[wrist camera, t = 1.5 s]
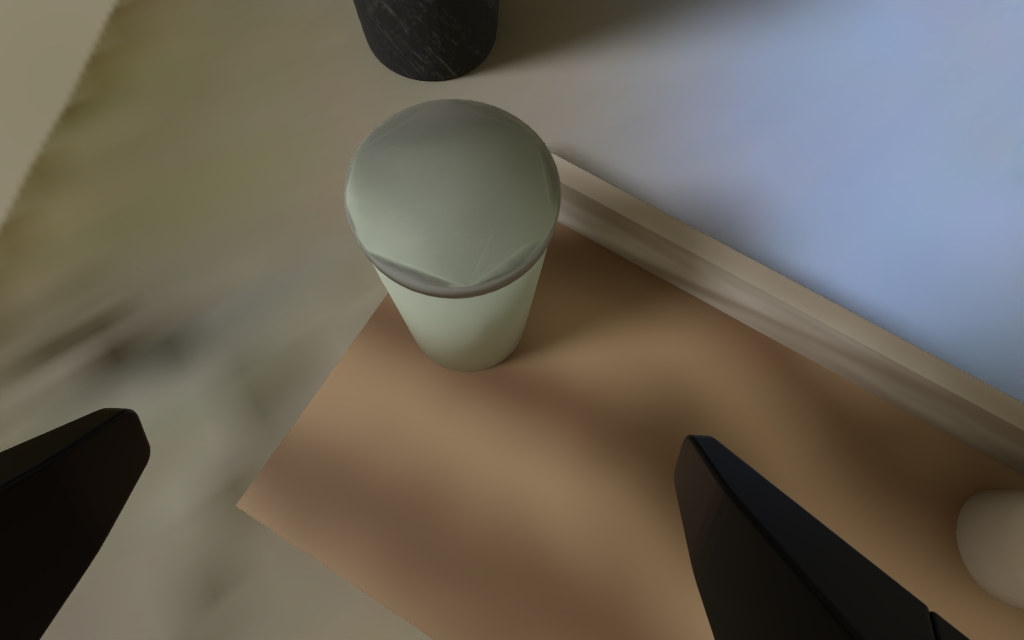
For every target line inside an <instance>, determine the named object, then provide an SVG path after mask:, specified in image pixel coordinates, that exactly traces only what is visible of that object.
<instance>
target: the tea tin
mask: <svg viewBox="0 0 1024 640" xmlns="http://www.w3.org/2000/svg"><path fill="white" fill-rule="evenodd" d="M344 204H345V211H346V215H347V218H348V222H349V225H350V227H351V229H352V231H353V233H354V236H355V238H356V239H357V241H358V243H359V245H360V246H361V248H362V250H363V251H364V253H365V254H366V256H367V257H368V259H369V260H370V261H371V262H372V264H373V265H374V267H375V269H376V271H377V273H378V274H379V276H380V278H381V280H382V282H383V283H384V285H385V287H386V289H387V291H388V292H389V294H390V296H391V298H392V300H393V301H394V303H395V305H396V307H397V309H398V310H399V312H400V314H401V316H402V318H403V319H404V321H405V323H406V325H407V327H408V328H409V330H410V332H411V334H412V336H413V337H414V339H415V341H416V343H417V344H418V346H419V347H420V349H421V350H422V351H423V353H424V354H425V355H426V356H427V357H428V358H430V359H431V360H432V361H434V362H435V363H437V364H438V365H440V366H442V367H444V368H447V369H450V370H454V371H459V372H476V371H481V370H485V369H488V368H491V367H493V366H495V365H497V364H499V363H500V362H502V361H503V360H505V359H506V358H507V357H508V356H509V355H510V354H511V353H512V352H513V351H514V350H515V348H516V347H517V345H518V344H519V342H520V340H521V338H522V335H523V332H524V329H525V326H526V322H527V319H528V315H529V311H530V308H531V304H532V301H533V297H534V294H535V290H536V286H537V283H538V279H539V276H540V272H541V269H542V265H543V262H544V258H545V254H546V251H547V247H548V244H549V242H550V240H551V238H552V236H553V233H554V229H555V226H556V223H557V219H558V216H559V212H560V205H561V183H560V176H559V173H558V169H557V166H556V163H555V161H554V159H553V157H552V154H551V153H550V151H549V149H548V148H547V146H546V145H545V143H544V142H543V141H542V139H541V138H540V137H539V136H538V135H537V133H536V132H534V131H533V130H532V129H531V128H530V127H529V126H528V125H527V124H525V123H524V122H523V121H521V120H520V119H519V118H517V117H516V116H514V115H512V114H510V113H508V112H507V111H505V110H502V109H500V108H497V107H495V106H492V105H489V104H485V103H482V102H477V101H471V100H462V99H442V100H435V101H428V102H424V103H421V104H417V105H414V106H411V107H409V108H406V109H403V110H401V111H399V112H398V113H396V114H394V115H392V116H390V117H389V118H387V119H386V120H384V121H383V122H381V123H380V124H379V125H378V126H377V127H376V128H374V129H373V130H372V131H371V132H370V133H369V134H368V135H367V137H366V138H365V139H364V140H363V141H362V143H361V144H360V146H359V147H358V149H357V150H356V152H355V154H354V156H353V158H352V160H351V162H350V164H349V168H348V171H347V174H346V179H345V185H344Z"/></svg>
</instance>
